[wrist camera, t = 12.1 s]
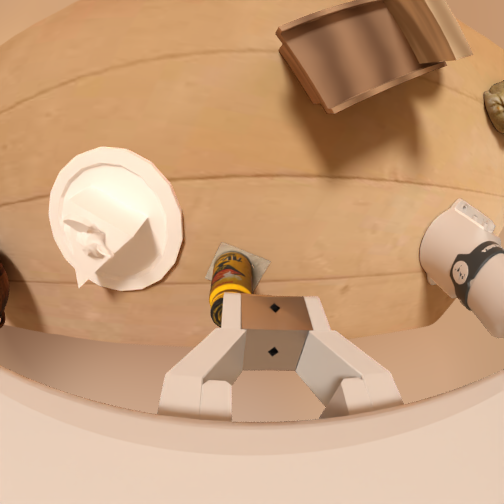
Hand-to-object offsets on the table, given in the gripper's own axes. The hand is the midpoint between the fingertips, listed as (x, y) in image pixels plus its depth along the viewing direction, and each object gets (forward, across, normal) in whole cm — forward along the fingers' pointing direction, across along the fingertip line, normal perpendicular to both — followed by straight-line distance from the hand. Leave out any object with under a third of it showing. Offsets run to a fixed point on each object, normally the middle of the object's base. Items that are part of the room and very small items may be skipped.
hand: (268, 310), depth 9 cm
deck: (+31, -12, -17) cm, 37 cm away
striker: (+22, -17, -21) cm, 35 cm away
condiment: (+31, 0, +18) cm, 36 cm away
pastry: (+32, -48, -22) cm, 62 cm away
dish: (+31, +21, +11) cm, 39 cm away
